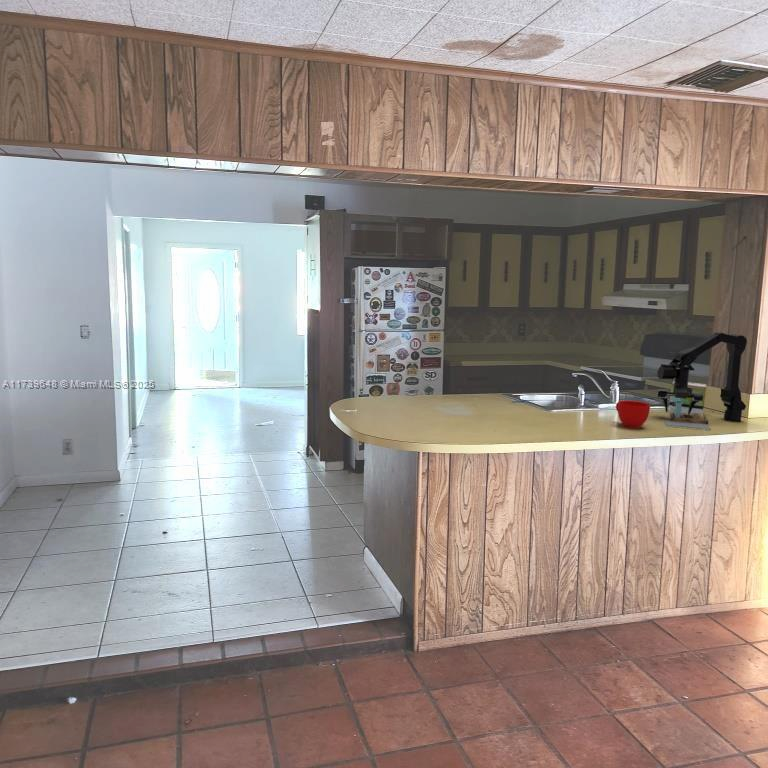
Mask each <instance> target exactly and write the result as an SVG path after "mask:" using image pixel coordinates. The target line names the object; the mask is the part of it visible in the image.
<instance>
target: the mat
mask: <svg viewBox="0 0 768 768" xmlns="http://www.w3.org/2000/svg"><path fill="white" fill-rule="evenodd" d="M663 422H664V426H667V428H670V427H674V428H677V429H680V428H686V430H689V429H695V430H696V431H699V430H705V431H704V432H706V431H707V432H708V431H711V430H712V428H711V427H710V425H709V424H698V423H689V422H679V421H671V420H663Z"/></svg>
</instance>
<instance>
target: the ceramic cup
mask: <svg viewBox="0 0 768 768" xmlns="http://www.w3.org/2000/svg"><path fill="white" fill-rule="evenodd" d="M615 409H616V411H617V415H618V419H619V420H620V422H621V424H622V425H623V427H626V428H631V429H640V428H641V427H642V426H643V425H644V424H645V423H646V422H647V419H648V418H649V414H650V410H651V405H650V404H649V403H646V402H643V401H639V400H638V401H635V400H619V401H618V402H617V403H616V405H615ZM639 427H640V428H639Z"/></svg>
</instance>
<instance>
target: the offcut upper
mask: <svg viewBox="0 0 768 768" xmlns="http://www.w3.org/2000/svg"><path fill="white" fill-rule="evenodd" d="M704 416H705V415H704V414H703V413H702V414H701V413H694V418H695V419H703V417H704Z"/></svg>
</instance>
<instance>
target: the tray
mask: <svg viewBox="0 0 768 768" xmlns="http://www.w3.org/2000/svg"><path fill="white" fill-rule="evenodd" d="M674 414H675V412H669V418H670V421H676V422H686V423H696V424H705V425H709V420H708V418H707V417H706V416H705V415H703V416H704V417H703V419H704V420H695V419H692V418H693V416H694V415H693V414H689V415H688V414H685V413H681V415H680V418H675V417H674Z"/></svg>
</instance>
